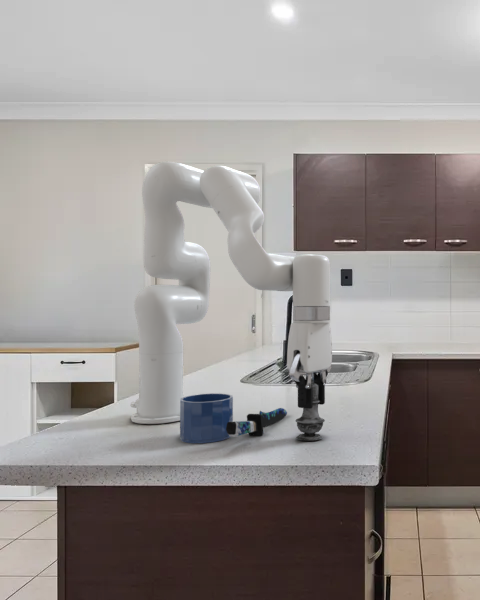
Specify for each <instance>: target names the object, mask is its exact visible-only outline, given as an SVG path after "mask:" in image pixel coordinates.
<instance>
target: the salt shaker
mask: <svg viewBox="0 0 480 600" xmlns="http://www.w3.org/2000/svg"><path fill="white" fill-rule="evenodd" d="M310 388H313V407H312V408H310V409H308V408H302V414H301V416H300V417H298V418H296V419H295V422H296V427H297V429H298V430H299V431H300V432H301V433H300V434H298V435H297V436H296V438H295V439H297V440H298V441H305V442H306V441H308V442H309V441H310V442H313V441H320V440H322V439H323V438H324V437H323V435H321V434H319V432H320V431H321V430H322V429H323V427H324V423H325V421H326V420H325V418H322V417H320V414H319V404H318V403H319V402H320V401H319V400H318V388H319V387H318V385H317V384H315V383H314V382H313V379H312V377H311V387H310Z"/></svg>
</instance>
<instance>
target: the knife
mask: <svg viewBox="0 0 480 600" xmlns="http://www.w3.org/2000/svg"><path fill="white" fill-rule="evenodd" d="M287 414H288V411H287V410H286V409H285V408H282V407H279V408H276V409H273V410H271V411H268V412H264V411H261V410H259V413H248V414H247V415H246V420H245V421H244V420H242V421H241V420H240V421H239V420H238V421H233V422H228V423H227V426H226V431H227V433H228V435H229V436H230V438H231V437H233V438H237V437H239V436H243V435H246V434H247V435H248V436H253V437H262V436H263V435H264V434H265V433H264V428H267V427H269V426H272V425H274V424H277V423H278V422H280V421H282V420H283V419H284V418H286V416H287Z"/></svg>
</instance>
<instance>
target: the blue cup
mask: <svg viewBox="0 0 480 600" xmlns="http://www.w3.org/2000/svg"><path fill="white" fill-rule="evenodd" d="M228 422H234V397H233V394H229V393H220V392H219V393H216V392H215V393H198V394H191V395H186V396H183V398H181V399H180V421H179V440H180V441H181V442H183V443H186V444H210V443H216V442H221V441H226V440H227V439H228V440H229V439H230V438H231V437H230V436H229V435H228V433H227V431H226V426H227V423H228Z"/></svg>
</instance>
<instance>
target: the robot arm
mask: <svg viewBox="0 0 480 600" xmlns="http://www.w3.org/2000/svg"><path fill="white" fill-rule="evenodd" d="M141 191H142V192H141V195H142V196H141V197H142V202H143V210H144V234H143V235H144V239H143V268H144V271H145V272H146V274H147V275H149V276H150V277H152V278H155V279H160V280H174V281H175V280H178V284H152V285H148V286H144V287H143V288H141V289H140V290H139V291H138V293H137V294H136V296H135V298H134V301H133V303H134V305H133V307H134V308H133V309H134V313H135V314H134V315H135V317H136V318H135V319H136V324H137V330H138V353H139V354H138V397H137V398H136V400H135V401H132V402H130V407H131V408H135V409H136V412H135V413H134V414H132V415H131V422H132V423H135V424H142V425H159V424H169V423H174V422H180V399H181V398H183V397H184V340H183V336H182V334H181V332H180V330H179V329H178V326H177V325H189V324H196V323H199V322H201V321H202V320H204V319H205V317H206V316H207V313H208V310H209V307H210V292H211V291H210V288H211V259H210V256H209V253H208V252H207V250H206V249H205V248H204V247H203V246H202V245H200V244H198V243H196V242H191V241H185V220H184V217H183V214H182V211H181V210H180V208H179V206H178V204H177V203H178V202H182V203H185V204H190V205H193V206H194V205H195V206H199V207H203V208H209V209H213V211H214V213H215V214H216V216H217V217H218V218H219V220H220V221H221V223H222V224H223V226H224V227H225V229H226V231H227V232H228V234H227V242H226V243H227V251H228V256H229V258H230V261H231V263H232V264H233V265H234V267H235V268H236V270H237V272H238V273H239V275H240V276H241V278H243V280H244V281H245V282H246V283H247V284H248V285H249V286H250V287H251V288H253V289H254V290H259V291H270V292H271V291H272V292H273V291H274V292H275V291H276V292H292V322H291V323H290V325H289V333H288V340H287V349H286V350H287V353H286V369H287V371H288V377H289V378H291V379H292V380H293V381H294V383H295V387H296V388H297V408H300V409H303V408H308V409H310V408H312V407H313V388H310V387H311V378H312V379H313V382H314V383H315V384H317V385H318V387H319V388H318V400H319V401H320V402H319V403H318V405H320V406H321V405H322V406H323V405H325V403H326V400H325V399H326V384H327V377H328V375H329V373H330V371H331V370H332V368H333V366H332V364H333V363H332V362H333V341H332V331H331V324H330V323H331V261H330V258H329V257H328V256H326V255H324V254H314V253H305V254H298V255H296V256H292V255H291V256H289V255H283V254H277V253H269V252H267V251H266V250H265V248H264V247H263V246H262V244H261V243H260V241H259V240H258V238H257V237H256V235H255V233H257V232H258V230H260V229H261V227H262V226H263V224H264V222H265V213H264V211H263V210H262V209H261V207H260V206H259V203H260V201H261V198H262V191H261V187H260V184H259V182H258V181H257V180H256V178H255V177H254V176H252V175H250V174H248V173H246V172H242V171H240V170H237V169H233V168H231V167H229V166H226V165H225V166H224V165H213V166H210V167H207V168H206V169H201V168H197V167H195V166H191V165H189V164H184V163H181V162H177V161H166V160H165V161H160V162H158V163H155V164H154V165H152V166H151V167H150V168H149V170H148V171H147V172H146V175H145V176H144V179H143V181H142V188H141Z"/></svg>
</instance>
